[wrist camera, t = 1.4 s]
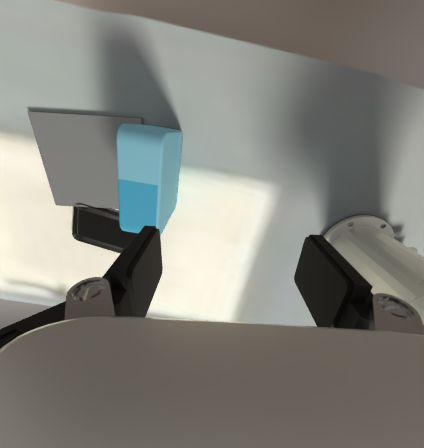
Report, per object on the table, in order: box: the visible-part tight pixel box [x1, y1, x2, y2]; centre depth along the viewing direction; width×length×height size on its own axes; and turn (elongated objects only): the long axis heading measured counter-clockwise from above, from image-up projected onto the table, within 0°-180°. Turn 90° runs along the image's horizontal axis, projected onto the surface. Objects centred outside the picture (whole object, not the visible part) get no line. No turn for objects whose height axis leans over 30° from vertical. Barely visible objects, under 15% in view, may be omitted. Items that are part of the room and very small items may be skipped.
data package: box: [116, 123, 182, 235], centre depth 26 cm, size 12×4×12 cm, turn 171°
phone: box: [72, 203, 138, 253], centre depth 37 cm, size 8×1×15 cm
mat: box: [28, 112, 143, 209], centre depth 31 cm, size 16×14×1 cm
